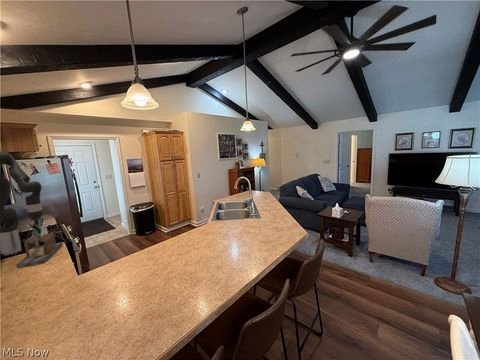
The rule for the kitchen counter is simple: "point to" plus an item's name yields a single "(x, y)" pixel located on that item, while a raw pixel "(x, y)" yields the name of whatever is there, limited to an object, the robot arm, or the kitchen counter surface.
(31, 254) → the slider block
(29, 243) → the tunnel
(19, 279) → the kitchen counter surface
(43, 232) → the syrup box
